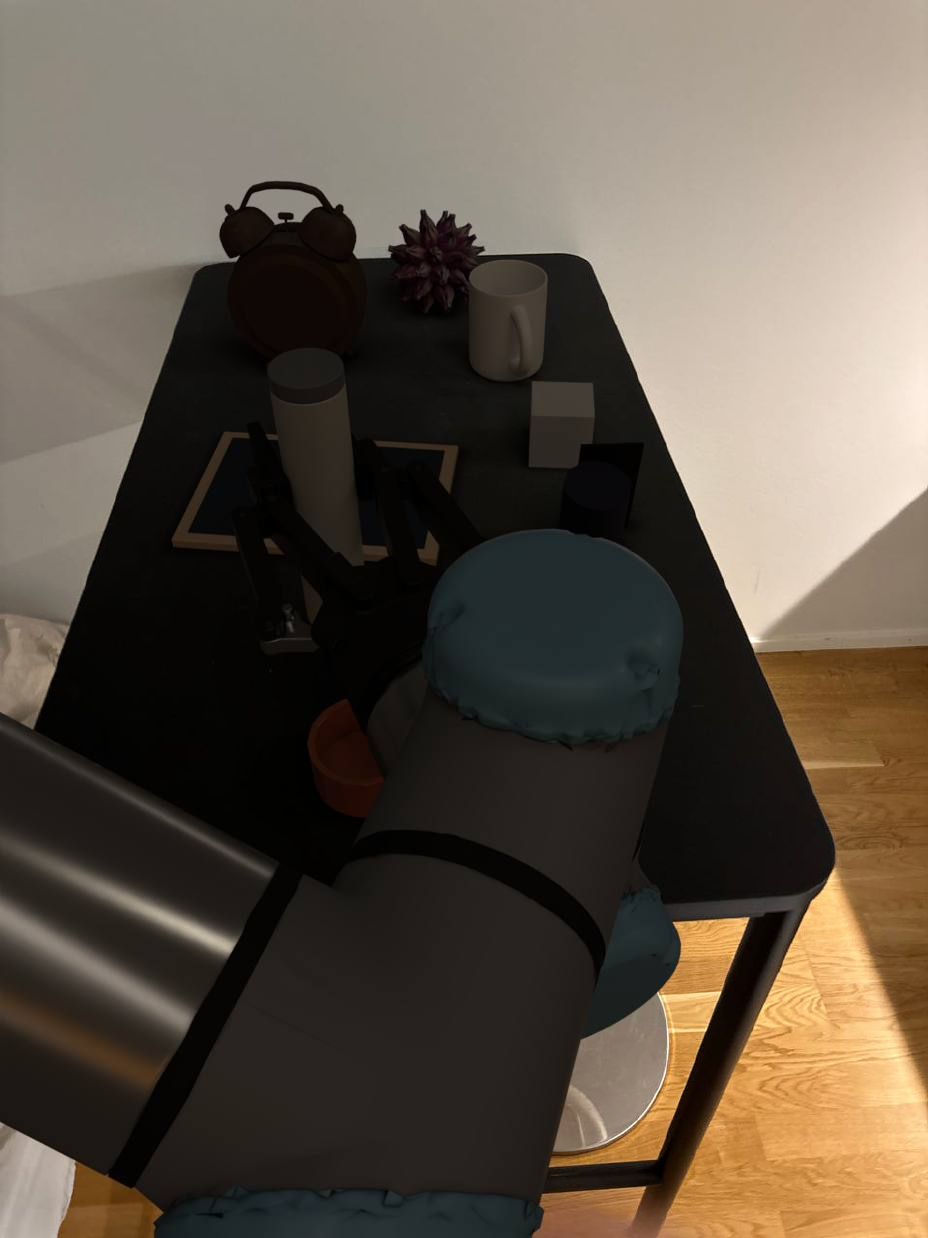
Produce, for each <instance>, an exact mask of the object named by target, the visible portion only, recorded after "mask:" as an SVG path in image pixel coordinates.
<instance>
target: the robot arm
mask: <svg viewBox="0 0 928 1238" xmlns="http://www.w3.org/2000/svg"><path fill="white" fill-rule="evenodd" d="M246 426H247V433H249V438H250V443H251V449H252V454H253V459H254V462H255V464H256V466H255V467H250V468H247V472H246V476H247V481H248V486H249V491H250V495H251V497H252V499H253V501H254V503H255V505H254V506H252V507H251V508H250V507H248V506H239V507H236V508H234V509H233V510H232V511H231V513H230V516H231V520H232V525H233V529H234V534H235V538H236V542H237V547H238V551H239V552H238V554H239V556H240V559H241V562H242V564H243V568H244V571H245V574H246V577H247V579H248V583H249V586H250V588H251V591H252V594H253V597H254V600H255V603H256V606H257V608H256V609H257V610H256V614H255V620H254V627H255V631H256V636H257V641H258V645H259V649H260V654H261V659H262V661H263V662H264V663H265V664H266V665H268V666H277V665H280V664H282V663H283V662H284V661H286V659H287V657H288V653H314V655H315V657H316V659H318V660H319V661H320V662H322V663H323V664H325V665H326V666H328V667H329V668H330V669H331V670H333V672H334V674H335V676H336V678H337V680H338V682H339V685H340V687H341V689H342V691H343V693H344V695H345V699H347V700H348V702H349V704H350V706H351V708H352V711H353V713H354V715H355V717H356V719H357V722H358V724H359V726H360V728H361V730H362V732H363V733H364V735H365V736H366V737H367V741H368V746H369V749H370V751H371V753H372V755H373V757H374V759H375V762H376V764H377V766H378V768H379V770H380V772H381V775H382V777H383V779H384V783H383V785H382V787H381V789H380V791H379V793H378V795H377V797H376V799H375V801H374V803H373V805H372V807H371V809H370V811H369V813H368V815H367V817H366V818H364V821H363V823H362V825H361V827H360V829H359V831H358V833H357V835H356V837H355V839H354V841H353V843H352V846H351V848H350V849H349V850H348V852H347V853H346V855H345V858H344V860H343V862H342V863H341V865H340V867H339V869H338V871H337V873H336V875H335V878H334V880H333V882H332V884H331V886H328V885H327V884H325V883H323V882H321V881H319V880H317V879H315V878H312V877H311V876H309V875H307V874H305V873H300V872H298V871H297V870H294V869H293V868H290V867H289V866H287V865H285V864H283V863H280V862H279V860H277V859H275V858H273V857H272V856H269V855H267V854H266V853H264V852H262V851H260V850H258V849H256V848H254V847H253V846H251V845H249V844H247V843H245V842H243V841H241V840H239V839H238V838H236V837H234V836H232V835H230V834H229V833H227V832H225V831H223V830H221V829H219V828H218V827H215V826H213V825H211V824H210V823H208V822H206V821H204V820H203V819H200V818H199V817H197V816H195V815H193V814H191V813H189V812H188V811H186V810H184V809H182V808H180V807H178V806H176V805H174V804H173V803H171V802H170V801H167V800H165V799H163V798H162V797H159V796H158V795H156V794H154V793H152V792H150V791H149V790H146V789H145V788H142V787H141V786H139V785H138V784H136V783H133V782H131V781H130V780H128V779H126V778H124V777H122V776H121V775H119V774H117V773H115V772H113V771H111V770H109V769H107V768H106V767H104V766H102V765H100V764H98V763H97V762H94V761H93V760H91V759H90V758H89V759H88V758H87V757H85V756H83V755H81V754H80V753H78V752H76V751H74V750H73V749H70V748H69V747H66V746H65V745H63V744H61V743H60V742H57V741H55V740H54V739H52V738H50V737H48V736H46V735H45V734H43V733H41V732H39V731H37V730H34V729H33V728H31V727H30V726H28V725H26V724H23V723H22V722H20V721H18V720H16V719H14V718H12V717H11V716H9V715H8V714H5V713H3V712H1V711H0V1124H2V1125H5V1126H7V1127H8V1128H10V1129H13V1130H14V1131H16V1132H18V1133H20V1134H23V1136H25V1137H28V1138H30V1139H32V1140H34V1141H36V1142H38V1143H39V1144H42V1145H44V1146H46V1147H47V1148H50V1149H51V1150H53V1151H55V1152H57V1153H59V1154H61V1155H63V1156H65V1157H66V1158H69V1159H71V1160H73V1161H75V1162H77V1163H79V1164H81V1165H82V1166H85V1167H86V1168H88V1169H90V1170H92V1171H93V1172H94V1171H95V1172H97V1173H98V1174H101V1175H102V1176H104V1177H106V1176H107V1178H109V1179H111V1180H113V1181H115V1182H117V1183H118V1184H121V1185H122V1186H125V1187H127V1188H128V1189H130V1190H132V1189H135V1190H137V1191H138V1193H140V1194H142V1196H144V1197H145V1198H146V1199H147V1200H148V1201H149V1202H150V1203H152V1204H153V1205H154V1206H155V1207H157V1209H159V1210H160V1211H161V1212H162V1213H161V1215H159V1216H158V1217H157V1218H156V1219H155V1220H154V1221H153V1222H152V1224H153V1225H154V1229H153V1238H533V1236H534V1234H535V1233H536V1232H538V1231H539V1230H540V1229H541V1227H542V1222H543V1219H544V1215H545V1209H544V1208H543V1207H542V1206H541V1205H540V1204H541V1200H542V1196H543V1193H544V1188H545V1185H546V1180H547V1177H548V1173H549V1169H550V1166H551V1160H552V1157H553V1154H554V1153H553V1152H554V1149H555V1145H556V1140H557V1138H558V1133H559V1129H560V1125H561V1121H562V1117H563V1113H564V1110H565V1109H564V1108H565V1106H566V1105H565V1104H566V1101H567V1098H568V1094H569V1093H568V1092H569V1089H570V1085H571V1081H572V1077H573V1072H574V1069H575V1064H576V1061H577V1057H578V1052H579V1050H580V1049H579V1048H580V1045H581V1042H582V1040H584V1039H586V1038H589V1037H590V1036H593V1035H595V1034H598V1033H599V1032H602V1031H604V1030H606V1029H609V1028H611V1027H612V1026H614V1025H616V1024H617V1023H619V1022H621V1021H623V1020H625V1018H627V1017H629V1016H630V1015H632V1014H633V1013H634V1012H636V1011H638V1010H639V1009H640V1008H641V1007H643V1006H644V1005H645V1004H647V1003H648V1002H649V1001H650V1000H651V999H652V998H654V996H656V995H657V994H658V993H659V992H660V991H661V990H662V989H663V987H665V985H666V984H667V982H668V981H670V979H671V977H672V976H673V975H674V972H675V971H676V969H677V967H678V965H679V961H680V959H681V953H682V941H681V938H680V933H679V931H678V929H677V928H676V927H677V926H675V924H674V922H673V920H672V918H671V916H670V914H669V913H668V910H667V909H666V907H665V905H664V903H663V901H662V900H661V890H660V889H659V888H658V886H657V885H656V884H655V883H653V884H652V883H651V881H650V880H649V879H648V877H647V875H646V874H645V872H644V871H643V869H642V868H641V866H640V862H639V855H640V851H641V848H642V841H643V837H644V832H645V819H646V818H645V816H646V815H645V814H646V811H647V808H648V803H649V801H650V797H651V794H652V790H653V786H654V784H655V778H656V775H657V772H658V768H659V764H660V760H661V755H662V752H663V747H664V743H665V740H666V735H667V731H668V727H669V724H670V719H671V717H672V716H673V714H674V710H675V704H676V699H678V696H679V692H680V691H681V690H682V684H681V678H680V676H679V668H680V661H681V657H682V656H681V655H682V650H683V643H684V624H683V623H684V622H683V616H682V613H681V609H680V606H679V604H678V601H677V599H676V598H675V594H674V593H673V591H672V589H671V587H670V586H669V584H668V583H667V581H666V580H665V578H663V576H661V574H660V573H659V572H658V571H657V570H656V569H655V568H654V567H653V566H652V565H651V564H650V563H648V562H647V561H646V560H645V559H644V558H643V557H641V556H640V555H638V554H637V553H635V552H633V551H632V550H630V549H628V547H625V546H623V545H619V544H617V543H615V542H612V541H609V540H606V539H604V538H592V537H590V536H588V535H586V534H578V535H576V534H573V533H571V532H569V531H568V530H560V529H559V528H542V529H541V528H540V529H538V528H537V529H524V530H519V531H514V532H509V533H506V534H503V535H498V536H496V537H494V538H491V539H488V538H486V537H485V536H484V535H482V534H480V532H479V531H478V529H476V527H475V526H474V525H473V523H472V522H471V520H470V519H469V518H468V516H467V514H465V512H464V511H463V510H462V508H461V507H460V506H459V505H458V503H457V502H456V500H455V499H454V497H452V495H451V493H450V494H449V493H448V491H447V490H446V489H445V487H444V486H443V485H442V483H441V482H440V481H439V479H438V478H437V477H436V475H435V474H434V473H433V471H432V470H431V469H430V467H429V466H428V465H427V463H425V462H424V461H421V460H415V461H411V462H409V463H408V464H407V468H396V467H394V466H393V465H392V464H391V463H389V462H387V461H386V459H385V458H384V456H383V454H382V453H381V451H380V450H379V448H378V447H377V445H376V443H375V442H374V441H375V440H373V439H371V438H370V437H366V438H360V439H357V438H356V436H355V434H354V433H353V432H352V430H351V429H350V431H351V441H352V451H353V460H354V470H355V480H356V489H357V496H358V498H359V500H360V501H361V502H365V501H369V500H372V499H373V493H374V495H375V501H376V512H377V513H378V515H379V519H380V524H381V528H382V532H383V536H384V541H385V545H386V549H387V554H388V557H385V558H383V559H381V560H379V561H377V562H376V561H374V562H372V563H370V564H364V565H359V566H352V565H351V563H350V562H349V561H348V560H347V559H346V558H345V557H344V556H343V555H342V554H341V553H340V552H334V551H333V550H332V549H331V548H330V547H329V546H328V545H327V544H326V543H325V541H324V540H323V539H322V538H321V537H320V536H319V535H318V534H317V533H316V532H315V531H314V530H313V528H312V527H311V526H310V525H309V524H308V523H307V522H306V521H305V520H304V519H303V518H302V516H301V515H300V514H299V513H298V512H297V511H296V510H295V509H294V505H293V499H292V493H291V486H290V482H289V480H288V478H287V476H286V474H285V472H284V470H283V468H282V466H281V464H280V462H279V460H278V458H277V456H276V454H275V452H274V450H273V448H272V446H271V444H270V442H269V440H268V438H267V436H266V434H267V433H266V432H265V430H264V428H263V425H262V423H261V422H260V420H256V421H253V422H249V423H246ZM403 500H408V501H409V503H410V505H411V506H412V507H413V509H414V510H415V512H416V513H417V515H418V516H419V517H420V519H421V520H422V522H423V523H424V525H425V526H426V527H427V529H428V530H429V532H430V533H431V535H432V536H433V538H434V539H435V540H436V542H437V543H438V545H439V546H440V549H441V551H442V552H443V554H444V555H445V556H446V557H447V560H449V562H450V563H451V564H450V566H449V567H448V568H446V570H443V569H441V568H438V567H436V566H432V565H429V564H426V563H424V562H422V561H420V558H419V554H418V551H417V547H416V543H415V539H414V536H413V534H411V530H410V526H409V522H408V519H407V515H406V511H405V507H404V503H403ZM267 537H269V538H270V539H271V540H272V541H273V542H274V543H275V545H276V546H277V547H278V548H279V549H280V550H281V552H282V553H283V554H284V555H283V556H284V557H286V559H287V560H288V561H289V562H290V563H291V565H292V566H294V568H295V569H296V571H298V573H299V574H300V576H301V575H302V576H303V577H304V578H305V579H306V581H307V582H308V583H309V584H310V585H311V586H312V588H313V589H314V590H315V591H316V592H317V593H318V595H319V596H320V597H321V599H322V604H321V606H320V608H319V611H318V613H317V615H316V617H315V619H314V621H313V624H312V623H310V624H309V623H306V622H304V620H302V616H301V614H300V612H299V611H297V610H295V609H294V606H293V605H292V604H291V603H285V598H284V593H283V592H284V591H283V588H282V585H281V582H280V580H279V577H278V574H277V572H276V569H275V566H274V564H273V560H272V559H271V556H270V554H269V553H268V550H267V548H266V545H265V542H264V540H263V539H265V538H267Z"/></svg>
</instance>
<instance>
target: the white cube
mask: <svg viewBox="0 0 928 1238" xmlns="http://www.w3.org/2000/svg"><path fill="white" fill-rule="evenodd" d="M594 393H595V392H594V383H593V382H574V381H573V382H572V381H571V382H570V381H569V382H568V381H539V380H538V381H535V380H534V381H533V380H531V396H530V397H531V398H530V417H529V437H528V439H529V441H528V443H529V444H528V468H547V469H548V468H550V469H572V468H573V467H575V466H577V465H578V461H579V453H580V446H581V444H593V439H594V430H595V420H596V415H595V395H594Z"/></svg>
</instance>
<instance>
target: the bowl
mask: <svg viewBox="0 0 928 1238" xmlns="http://www.w3.org/2000/svg"><path fill="white" fill-rule="evenodd" d="M307 737H308V738H307V740H306V746H307V750H308V756H309V761H310V766H311V771H312V776H313V781H314V785H315V788H316V789H315V790H316V791H317V793H318V795H319V797H320V798H321V800H322V801H323V802H324V803H325V804H326V805H327V806H329V807H330V808H331V809H332V810H334V811H336V812H338V813H340V814H343V815H345V816H349V817H354V818H364V819H366V817H367V815H368V813H369V811H370V809H371V807H372V805H373V803H374V801H375V799H376V797H377V795H378V793H379V791H380V789H381V787H382V785H383V783H384V779H383V777H382V775H381V772H380V770H379V768H378V766H377V764H376V762H375V759H374V757H373V755H372V753H371V751H370V749H369V746H368V741H367V737H366V736H365V735H364V733H363V732H362V730H361V728H360V726H359V724H358V722H357V719H356V717H355V715H354V713H353V711H352V708H351V706H350V704H349V702H348V700H347V698H343V699H341V700H339V701H337V702H335V703H334V704H332V705H331V706H329V707H327V708H325V709H324V710H323V711H322V712H321V713H320V714H319V716H318V717H317V719H315V721H313V723H312V724H311V727H310V730H309V733H308V736H307Z"/></svg>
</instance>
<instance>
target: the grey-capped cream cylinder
mask: <svg viewBox="0 0 928 1238" xmlns="http://www.w3.org/2000/svg"><path fill="white" fill-rule="evenodd" d="M266 376H267V382H268V388H269V395H270V400H271V406H272V412H273V418H274V424H275V430H276V435H277V436H278V442H279V448H280V454H281V460H282V466H283V470H284V472H285V474H286V476H287V478H288V480H289V482H290V486H291V493H292V499H293V505H294V509H295V510H296V511H297V512H298V513H299V514H300V515H301V516H302V518H303V519H304V520H305V521H306V522H307V523H308V524H309V525H310V526H311V527H312V528H313V530H314V531H315V532H316V533H317V534H318V535H319V536H320V537H321V538H322V539H323V540H324V541H325V543H326V544H327V545H328V546H329V547H330V548H331V549H332V550H333V551H334V552H340V553H341V554H342V555H343V556H344V557H345V558H346V559H347V560H348V561H349V562H350V563H351V565H352V566H359V565H365V561H364V557H363V548H362V538H361V528H360V519H359V509H358V499H357V489H356V480H355V470H354V460H353V451H352V441H351V431H352V430H351V423H350V422H351V421H350V414H349V404H348V393H347V386H346V385H347V384H346V374H345V364H344V362H343V360H342V358H341V356H340V357H339V356H337V355H336V354H334V353H333V352H330V351H328V350H324V349H319V348H301V349H295V350H291V351H287V352H285V353H282V354H280V355H278V356H277V357H275V358H274V359H273V360H272V361H271V362H270V363H269V365H268V368H267V367H266ZM350 430H351V431H350ZM300 580H301V585H302V592H303V597H304V603H305V609H306V616H307V619H308V620H309V622H310V624H311V625H312V624H313V621H314V619H315V617H316V615H317V613H318V611H319V608H320V606H321V604H322V599H321V597H320V596H319V595H318V593H317V592H316V591H315V590H314V589H313V588H312V586H311V585H310V584H309V583H308V582H307V581H306V579H305V578H304V577H303V576H302V575H301V574H300Z"/></svg>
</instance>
